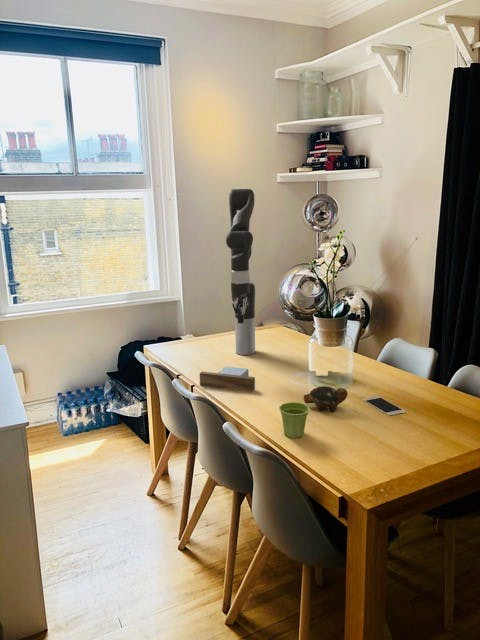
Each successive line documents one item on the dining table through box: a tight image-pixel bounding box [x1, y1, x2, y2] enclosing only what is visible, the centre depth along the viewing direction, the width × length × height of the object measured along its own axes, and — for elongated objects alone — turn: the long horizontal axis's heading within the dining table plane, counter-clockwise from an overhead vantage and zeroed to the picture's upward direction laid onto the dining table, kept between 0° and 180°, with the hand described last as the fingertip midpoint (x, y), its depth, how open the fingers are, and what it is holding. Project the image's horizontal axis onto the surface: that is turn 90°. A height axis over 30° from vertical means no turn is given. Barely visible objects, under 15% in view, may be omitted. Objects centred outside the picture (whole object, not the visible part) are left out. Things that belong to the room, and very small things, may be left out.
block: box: [217, 365, 249, 376], centre depth 208 cm, size 11×10×4 cm
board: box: [199, 371, 256, 392], centre depth 201 cm, size 2×22×5 cm, turn 70°
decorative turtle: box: [303, 385, 349, 413], centre depth 180 cm, size 10×15×8 cm, turn 80°
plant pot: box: [278, 401, 311, 439], centre depth 160 cm, size 9×9×9 cm
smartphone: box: [362, 396, 407, 416], centre depth 181 cm, size 7×16×1 cm, turn 22°
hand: (240, 323), depth 213 cm, fingers closed
